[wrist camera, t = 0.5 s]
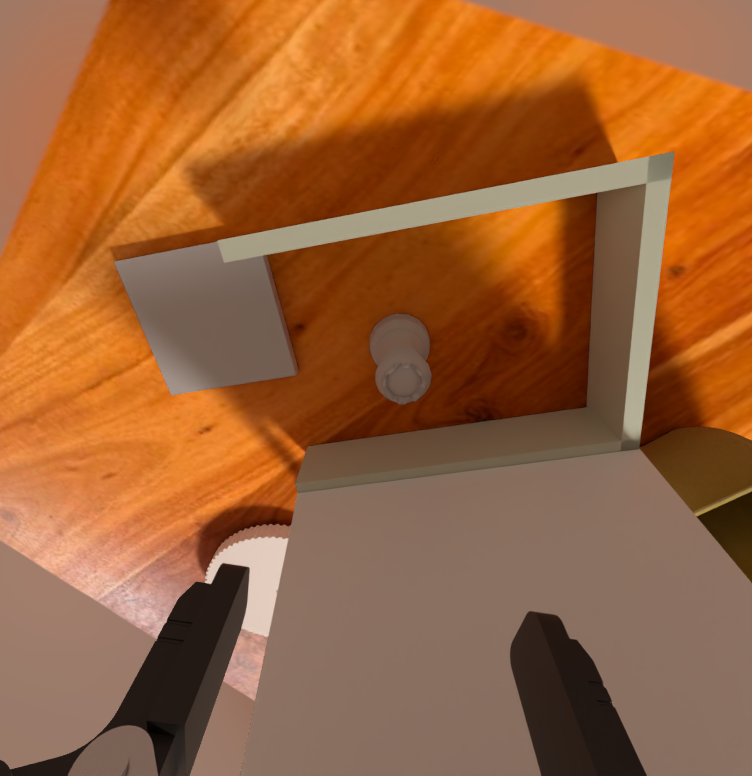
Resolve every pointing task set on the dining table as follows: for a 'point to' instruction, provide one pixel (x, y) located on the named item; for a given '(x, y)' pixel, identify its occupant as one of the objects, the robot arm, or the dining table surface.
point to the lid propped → (499, 622)
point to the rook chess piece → (401, 358)
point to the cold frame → (607, 332)
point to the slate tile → (209, 317)
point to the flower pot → (711, 483)
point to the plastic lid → (256, 569)
